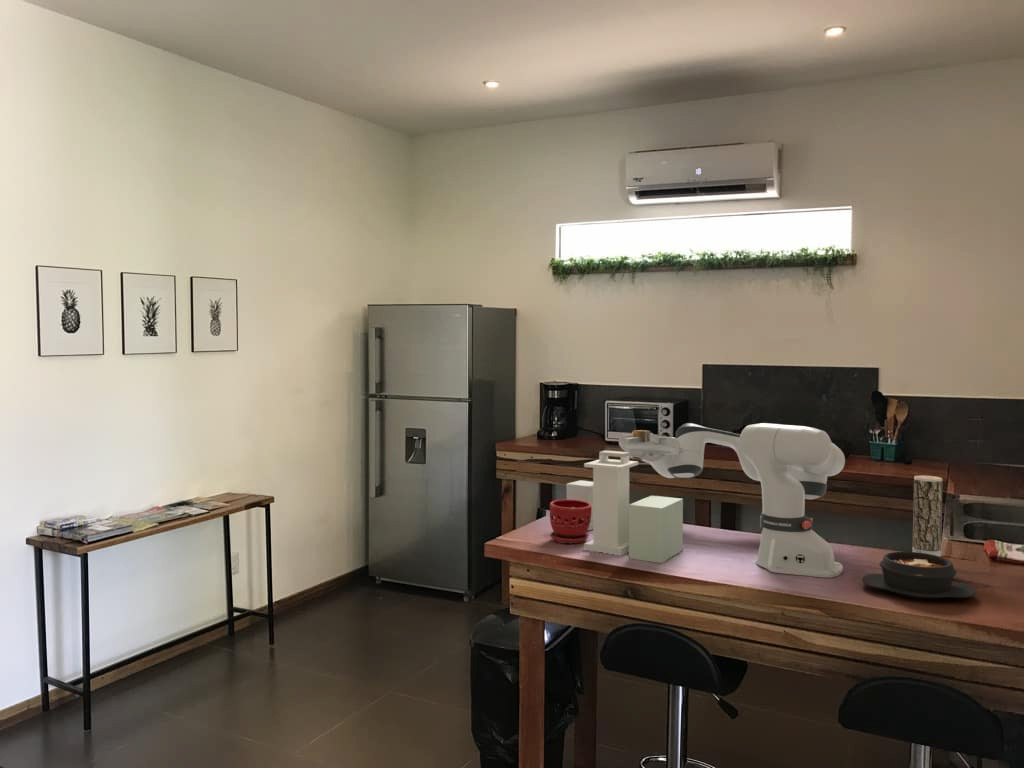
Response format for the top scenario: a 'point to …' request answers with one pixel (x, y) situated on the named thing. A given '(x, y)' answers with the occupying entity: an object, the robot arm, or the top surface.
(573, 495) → the supplement box
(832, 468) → the robot arm
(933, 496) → the bark pattern canister
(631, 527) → the pale green box
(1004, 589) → the top surface
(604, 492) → the tall stand
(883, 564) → the casserole
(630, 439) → the brown block with handle
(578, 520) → the plant pot
